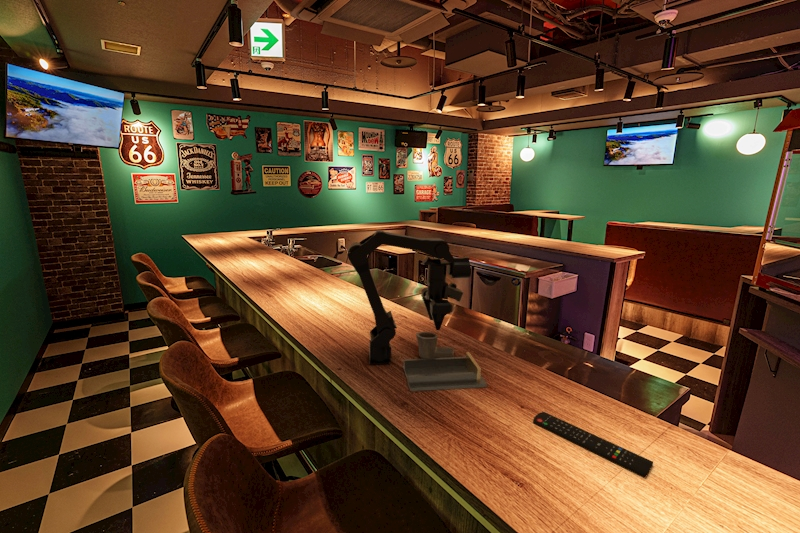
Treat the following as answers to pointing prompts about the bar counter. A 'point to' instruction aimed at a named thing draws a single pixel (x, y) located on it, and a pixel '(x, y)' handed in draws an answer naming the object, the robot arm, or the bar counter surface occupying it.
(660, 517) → the bar counter surface
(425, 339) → the pipe
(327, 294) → the bar counter surface
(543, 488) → the bar counter surface
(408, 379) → the pipe cradle
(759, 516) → the bar counter surface
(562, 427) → the remote control
